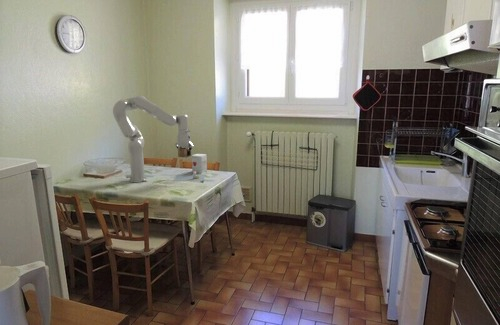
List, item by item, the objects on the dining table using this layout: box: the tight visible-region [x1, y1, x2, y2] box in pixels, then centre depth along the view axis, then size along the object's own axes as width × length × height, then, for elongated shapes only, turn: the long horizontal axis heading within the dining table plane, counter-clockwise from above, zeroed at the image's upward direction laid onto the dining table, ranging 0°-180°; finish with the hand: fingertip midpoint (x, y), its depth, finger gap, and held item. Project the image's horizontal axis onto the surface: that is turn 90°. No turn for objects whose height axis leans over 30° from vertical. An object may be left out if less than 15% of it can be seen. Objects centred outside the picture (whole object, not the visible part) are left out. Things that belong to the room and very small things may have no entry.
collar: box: [177, 147, 193, 159], centre depth 261 cm, size 7×7×6 cm
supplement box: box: [191, 153, 208, 174], centre depth 281 cm, size 9×9×15 cm
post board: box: [172, 172, 206, 183], centre depth 263 cm, size 22×18×6 cm
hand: (184, 155), depth 262 cm, fingers closed on collar, 7 cm apart
